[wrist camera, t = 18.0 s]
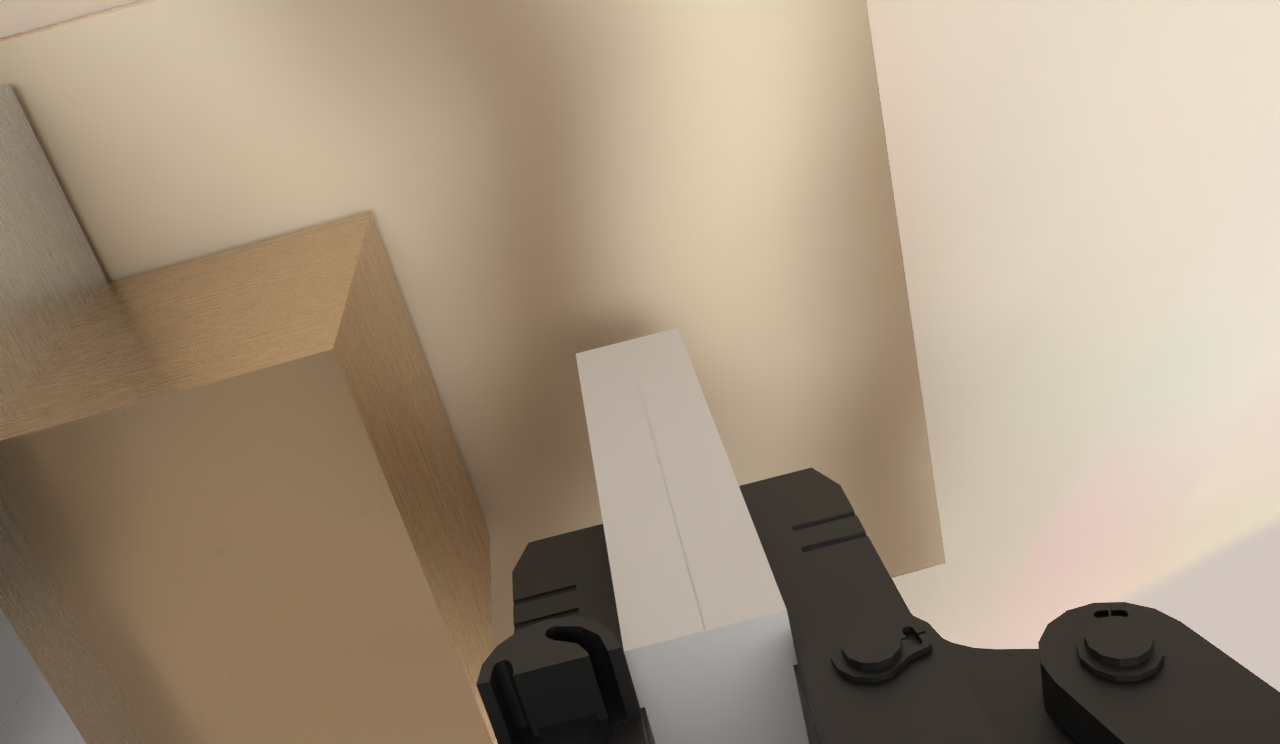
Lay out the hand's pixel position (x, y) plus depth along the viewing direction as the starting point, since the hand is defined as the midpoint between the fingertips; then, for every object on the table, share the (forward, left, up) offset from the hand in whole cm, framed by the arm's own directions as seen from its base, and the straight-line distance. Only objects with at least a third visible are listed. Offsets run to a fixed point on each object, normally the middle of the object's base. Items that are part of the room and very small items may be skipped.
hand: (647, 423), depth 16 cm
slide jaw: (-6, +1, -2) cm, 6 cm away
